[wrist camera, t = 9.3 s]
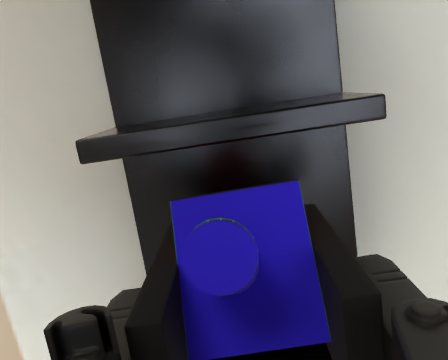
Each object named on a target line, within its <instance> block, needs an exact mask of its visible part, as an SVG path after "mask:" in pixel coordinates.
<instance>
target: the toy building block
mask: <svg viewBox="0 0 448 360" xmlns="http://www.w3.org/2000/svg"><path fill="white" fill-rule="evenodd" d="M170 206H171V215H172V224H173V233H174V242H175V250H176V259H177V264H178V268H179V278H180V288H181V298H182V309H183V319H184V329H185V338H186V347H187V356H188V360H209V359H216V358H223V357H230V356H237V355H244V354H251V353H257V352H264V351H271V350H278V349H285V348H292V347H299V346H306V345H312V344H319V343H326V342H332V341H331V336H330V331H329V326H328V321H327V316H326V311H325V306H324V301H323V296H322V291H321V286H320V282H319V277H318V272H317V267H316V262H315V257H314V252H313V247H312V242H311V237H310V232H309V228H308V223H307V218H306V213H305V208H304V203H303V198H302V193H301V188H300V183H299V179H294V180H288V181H282V182H275V183H269V184H263V185H257V186H251V187H245V188H239V189H233V190H227V191H221V192H215V193H209V194H202V195H196V196H190V197H184V198H178V199H172V200H170Z"/></svg>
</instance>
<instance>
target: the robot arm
mask: <svg viewBox="0 0 448 360" xmlns="http://www.w3.org/2000/svg"><path fill="white" fill-rule="evenodd" d="M304 208H305V213H306V218H307V223H308V228H309V232H310V237H311V242H312V247H313V252H314V257H315V262H316V267H317V272H318V277H319V282H320V286H321V291H322V296H323V301H324V306H325V311H326V316H327V321H328V326H329V331H330V336H331V341H332V342H326V344H327V347H328V350H329V352H330V355H331V357H332V360H448V303H447V302H444V301H440V300H436V299H431V298H427V297H426V296H425V295H424V294H423V293H422V292H421V291H420V290H419V289H418V288H417V287H416V286H415V285H414V284H413V283H412V282H411V281H410V280H409V279H407V276H406V275H405V274H404V273H403V272H402V271H400V269H399V268H398V267H397V266H396V265H395V264H394V263H393V262H392V261H391V260H389V259H387V258H384V257H382V256H380V255H378V254H375V255H368V256H361V257H354V256H353V255H352V254H351V252H350V251H349V250H348V248H347V247H346V246H345V244H344V243H343V242H342V240H341V239H340V238H339V236H338V235H337V234H336V232H335V231H334V230H333V228H332V227H331V226H330V224H329V223H328V222H327V220H326V219H325V218H324V216H323V215H322V214H321V212H320V211H319V210H318V208H317V207H316V206H315V204H306V205H304ZM43 331H44V335H45V338H46V342H47V346H48V349H49V353H50V357H51V360H188V356H187V347H186V338H185V329H184V319H183V309H182V298H181V288H180V278H179V268H178V264H177V259H176V250H175V242H174V233H173V224H169V227H168V229H167V231H166V233H165V236H164V238H163V240H162V242H161V245H160V247H159V249H158V251H157V254H156V256H155V258H154V261H153V263H152V265H151V267H150V270H149V272H148V274H147V276H146V279H145V281H144V283H143V285H142V288H136V289H129V290H123V291H121V292H120V293H119V294H118V295H117V296H115V297H114V298H113V299H112V300H111V301H110V303H109V304H108V306H107V308H106V307H105V306H96V305H94V306H86V307H81V308H78V309H75V310H71V311H69V312H67V313H65V314H63V315H61V316H59V317H57V318H56V319H54V320H53V321H52V322H50V323H49V324H48V325H47V327H46V328H45V329H44V330H43Z"/></svg>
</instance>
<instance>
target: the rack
mask: <svg viewBox="0 0 448 360" xmlns="http://www.w3.org/2000/svg"><path fill="white" fill-rule="evenodd" d="M90 4H91V9H92V14H93V19H94V23H95V28H96V33H97V38H98V43H99V48H100V52H101V57H102V62H103V67H104V72H105V77H106V81H107V86H108V91H109V96H110V101H111V106H112V110H113V115H114V120H115V125H116V127H115V128H112V129H109V130H106V131H103V132H100V133H97V134H94V135H91V136H88V137H85V138H82V139H80V140H77V141H76V148H77V152H78V156H79V161H80V163H81V164H88V163H94V162H101V161H108V160H114V159H121V158H122V159H123V164H124V168H125V173H126V178H127V183H128V188H129V193H130V197H131V202H132V207H133V212H134V217H135V221H136V226H137V231H138V236H139V241H140V246H141V250H142V255H143V260H144V265H145V270H146V275H147V274H148V272H149V270H150V267H151V265H152V263H153V261H154V258H155V256H156V254H157V251H158V249H159V247H160V245H161V242H162V240H163V238H164V236H165V233H166V231H167V229H168V227H169V224H172V215H171V206H170V200H172V199H178V198H184V197H190V196H196V195H202V194H209V193H215V192H221V191H227V190H233V189H239V188H245V187H251V186H257V185H263V184H269V183H275V182H282V181H288V180H294V179H299V183H300V188H301V193H302V198H303V203H304V205H306V204H315V206H316V207H317V208H318V210H319V211H320V212H321V214H322V215H323V216H324V218H325V219H326V220H327V222H328V223H329V224H330V226H331V227H332V228H333V230H334V231H335V232H336V234H337V235H338V236H339V238H340V239H341V240H342V242H343V243H344V244H345V246H346V247H347V248H348V250H349V251H350V252H351V254H352V255H353V256H354V257H357V248H356V237H355V226H354V214H353V203H352V192H351V181H350V170H349V158H348V147H347V136H346V125H348V124H354V123H361V122H368V121H374V120H381V119H385V118H386V101H385V95H384V94H378V93H347V92H343V91H342V80H341V69H340V58H339V46H338V35H337V24H336V13H335V2H334V0H90ZM209 360H332V357H331V355H330V352H329V350H328V347H327V344H326V343H319V344H312V345H306V346H299V347H292V348H285V349H278V350H271V351H264V352H257V353H251V354H244V355H237V356H230V357H223V358H216V359H209Z"/></svg>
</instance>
